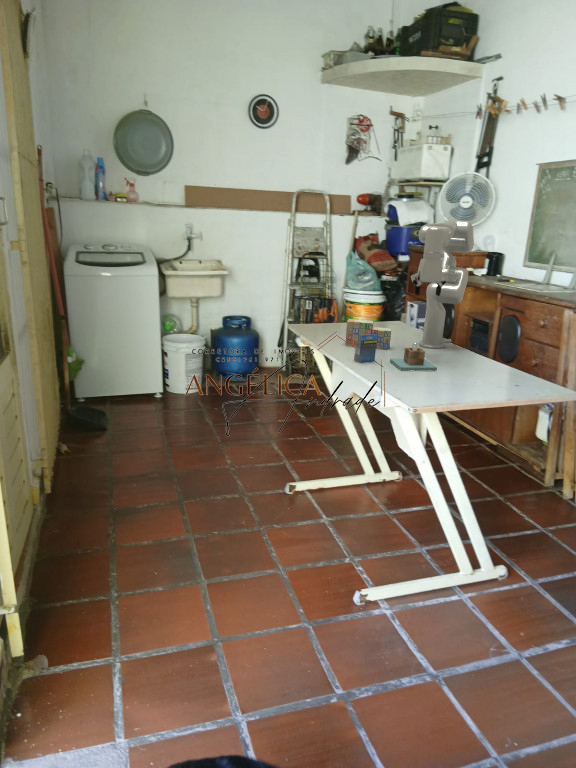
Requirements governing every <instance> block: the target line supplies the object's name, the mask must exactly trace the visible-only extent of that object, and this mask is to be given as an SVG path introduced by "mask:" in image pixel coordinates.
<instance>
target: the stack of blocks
mask: <svg viewBox="0 0 576 768" xmlns="http://www.w3.org/2000/svg"><path fill="white" fill-rule="evenodd" d="M345 331H346V334H345V347H346V346H347V347H348V346H349V347H355V346H356V342H358V341H361V335H370V334H377V345H376V350H377V349H379V350H380V349H381V350H388V349H389V350H390V348H391V347H390V346H391V337H392V328H387V327H386V328H385V327H375V326H374V320H368V319H367V320H366V319H365V320H364V319H354V318H353V319H352V318H349V319H347V321H346V330H345ZM370 338H372V337H367V339H370Z"/></svg>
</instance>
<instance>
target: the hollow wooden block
mask: <svg viewBox="0 0 576 768" xmlns="http://www.w3.org/2000/svg"><path fill="white" fill-rule="evenodd" d="M412 348H413V347H404V353H403V359H404V362H406V363H407V364H408V365H424V359H425V356H426V351H425V350H424V349H422V348H421V347H417V351H412Z"/></svg>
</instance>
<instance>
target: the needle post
mask: <svg viewBox="0 0 576 768" xmlns="http://www.w3.org/2000/svg"><path fill="white" fill-rule="evenodd" d="M418 346H419V343H417V342H414V343H412V347H411V348H412V351H417V348H419V347H418Z"/></svg>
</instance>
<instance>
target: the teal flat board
mask: <svg viewBox="0 0 576 768" xmlns="http://www.w3.org/2000/svg"><path fill="white" fill-rule="evenodd" d="M389 363H390V364H392V365H393V366H394V367H395V368H397V370H399V371H400V372H411V371H410V370H415V371H414V372H417V371H416V370H437V371H438V367H437V366H436V365H434V364H433V363H432V362H430V361H429V360H427V359H425V358H424V365H408V364H407V363H406V362H404V358H389ZM408 370H409V371H408Z"/></svg>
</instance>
